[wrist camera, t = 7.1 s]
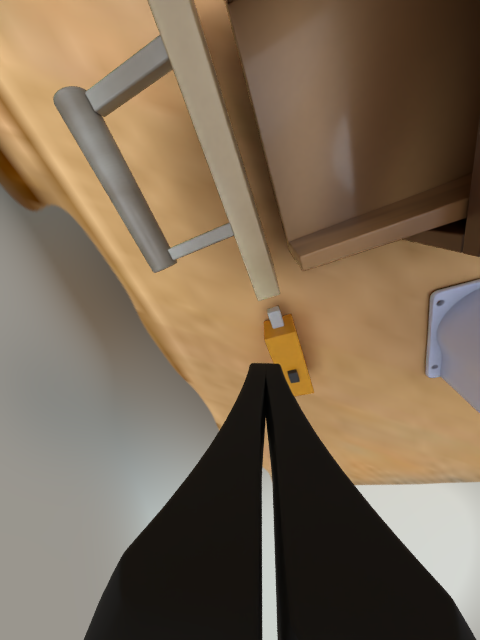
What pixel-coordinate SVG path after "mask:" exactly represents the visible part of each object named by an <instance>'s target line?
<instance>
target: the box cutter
mask: <svg viewBox="0 0 480 640" xmlns="http://www.w3.org/2000/svg"><path fill="white" fill-rule="evenodd" d="M267 313H268V317H269V319H270V320H268V321H264V340H265V343H266V345H267V348H268V350H269V353H270V355H271V358H272V361H273V363H274V364H280V365H281V368H282V371H283V374H284V376H285V379H286V381H287V383H288V385H289V387H290V389H291V391H292V393H293V395H294V396H299V395H305V394H311V393H314V390H313V386H312V383H311V379H310V376H309V373H308V369H307V366H306V362H305V359H304V355H303V352H302V349H301V345H300V342H299V339H298V335H297V332H296V328H295V325H294V322H293V318H292V315H291V314H289V315H285V316H282V315H281V312H280V309H279V306H276V307H273V308H269V309H267Z"/></svg>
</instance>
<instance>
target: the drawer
mask: <svg viewBox="0 0 480 640" xmlns="http://www.w3.org/2000/svg"><path fill="white" fill-rule="evenodd" d="M224 1H225V4H226V8H227V12H228V16H229V20H230V24H231V28H232V32H233V35H234V39H235V43H236V47H237V51H238V55H239V59H240V63H241V66H242V70H243V74H244V78H245V82H246V86H247V90H248V94H249V97H250V101H251V105H252V109H253V113H254V117H255V121H256V125H257V129H258V132H259V136H260V140H261V144H262V148H263V152H264V156H265V160H266V163H267V167H268V171H269V175H270V179H271V183H272V187H273V191H274V194H275V198H276V202H277V206H278V210H279V214H280V218H281V222H282V225H283V229H284V233H285V237H286V241H287V245H288V249H289V251H290V253H291V254H292V256H293V257H294V259H295V260H296V262H297V264H298V265H299V267H300V268H301V270H302V271H306V270H309V269H312V268H316V267H319V266H322V265H325V264H328V263H331V262H334V261H337V260H340V259H343V258H346V257H349V256H352V255H355V254H358V253H361V252H364V251H367V250H370V249H373V248H376V247H379V246H382V245H385V244H388V243H391V242H394V241H397V240H400V239H403V238H407V237H410V236H413V235H416V234H419V233H422V232H425V231H428V230H431V229H434V228H437V227H440V226H443V225H446V224H449V223H452V222H455V221H458V220H461V219H464V218H467V212H468V204H469V196H470V189H471V181H472V173H473V165H474V158H475V150H476V142H477V134H478V127H479V119H480V0H224ZM148 3H149V6H150V8H151V11H152V14H153V17H154V19H155V22H156V25H157V27H158V30H159V33H160V35H159V36H158V37H156V38H155V39H154V40H153V41H151V42H150V43H149V44H147V45H146V46H145V47H143V48H142V49H141V50H139V51H138V52H137V53H136V54H134V55H133V56H132V57H130V58H129V59H128V60H126V61H125V62H124V63H122V64H121V65H120V66H119V67H117V68H116V69H115V70H113V71H112V72H111V73H109V74H108V75H107V76H105V77H104V78H103V79H102V80H100V81H99V82H98V83H96V84H95V85H94V86H92V87H91V88H90V89H88V90H87V91H86V90H85V89H83V88H80V87H76V86H69V87H65V88H62V89H60V90H58V91H57V92H56V93H55V95H54V98H53V100H54V104H55V106H56V108H57V110H58V111H59V113H60V115H61V116H62V118H63V120H64V122H65V123H66V125H67V127H68V128H69V130H70V132H71V133H72V135H73V137H74V138H75V140H76V142H77V144H78V145H79V147H80V149H81V150H82V152H83V154H84V155H85V157H86V159H87V161H88V162H89V164H90V166H91V167H92V169H93V171H94V172H95V174H96V176H97V178H98V179H99V181H100V183H101V184H102V186H103V188H104V189H105V191H106V193H107V195H108V196H109V198H110V200H111V201H112V203H113V205H114V206H115V208H116V210H117V212H118V213H119V215H120V217H121V218H122V220H123V222H124V223H125V225H126V227H127V229H128V230H129V232H130V234H131V235H132V237H133V239H134V240H135V242H136V244H137V246H138V247H139V249H140V251H141V252H142V254H143V256H144V257H145V259H146V261H147V262H148V264H149V266H150V268H151V269H152V271H153V272H154V273H156V272H159V271H161V270H164V269H166V268H168V267H170V266H172V265H174V264H176V263H177V260H176V259H178V258H181V257H183V256H186V255H188V254H190V253H193V252H195V251H198V250H200V249H203V248H205V247H208V246H210V245H212V244H215V243H217V242H220V241H222V240H225V239H227V238H229V237H232V236H234V237H235V239H236V242H237V245H238V248H239V250H240V253H241V256H242V259H243V261H244V264H245V267H246V269H247V272H248V275H249V278H250V280H251V283H252V286H253V288H254V291H255V294H256V297H257V299H258V301H260V300H264V299H267V298H270V297H273V296H277V295H279V294H280V290H279V286H278V281H277V277H276V272H275V268H274V264H273V261H272V257H271V254H270V251H269V247H268V244H267V241H266V237H265V234H264V231H263V227H262V224H261V221H260V217H259V214H258V211H257V207H256V204H255V201H254V198H253V194H252V191H251V188H250V184H249V181H248V178H247V174H246V171H245V168H244V164H243V161H242V158H241V154H240V151H239V148H238V144H237V141H236V138H235V134H234V131H233V128H232V124H231V121H230V118H229V115H228V111H227V108H226V105H225V101H224V98H223V95H222V91H221V88H220V85H219V81H218V78H217V75H216V71H215V68H214V65H213V61H212V58H211V55H210V51H209V48H208V45H207V42H206V38H205V35H204V32H203V28H202V25H201V22H200V18H199V15H198V12H197V8H196V5H195V2H194V0H148ZM171 70H173V71H174V74H175V76H176V79H177V82H178V85H179V87H180V90H181V93H182V95H183V98H184V101H185V104H186V106H187V109H188V112H189V114H190V117H191V120H192V123H193V125H194V128H195V131H196V133H197V136H198V139H199V142H200V144H201V147H202V150H203V153H204V155H205V158H206V161H207V163H208V166H209V169H210V172H211V174H212V177H213V180H214V182H215V185H216V188H217V191H218V193H219V196H220V199H221V201H222V204H223V207H224V210H225V212H226V215H227V218H228V220H229V223H227V224H224V225H222V226H220V227H218V228H215V229H213V230H211V231H208V232H206V233H204V234H201V235H199V236H197V237H194V238H192V239H190V240H187V241H185V242H183V243H180V244H178V245H176V246H173V247H171V248H170V246H169V244H168V242H167V240H166V239H165V237H164V235H163V233H162V231H161V229H160V227H159V225H158V223H157V221H156V219H155V217H154V215H153V213H152V212H151V210H150V208H149V206H148V204H147V202H146V200H145V198H144V196H143V194H142V192H141V190H140V188H139V187H138V185H137V183H136V181H135V179H134V177H133V175H132V173H131V171H130V169H129V167H128V165H127V163H126V161H125V160H124V158H123V156H122V154H121V152H120V150H119V148H118V146H117V144H116V142H115V140H114V138H113V136H112V135H111V133H110V131H109V129H108V127H107V125H106V123H105V121H104V119H103V117H105V116H107V115H108V114H110V113H111V112H113V111H114V110H115V109H117V108H118V107H120V106H121V105H123V104H124V103H125V102H127V101H128V100H130V99H131V98H133V97H134V96H135V95H137V94H138V93H140V92H141V91H143V90H144V89H145V88H147V87H148V86H150V85H151V84H153V83H154V82H156V81H157V80H158V79H160V78H161V77H163V76H164V75H166V74H167V73H168V72H170V71H171ZM102 116H103V117H102Z"/></svg>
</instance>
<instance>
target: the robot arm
mask: <svg viewBox="0 0 480 640" xmlns="http://www.w3.org/2000/svg"><path fill="white" fill-rule="evenodd" d="M439 300H440V302H439V303H437V302H438V301H439ZM425 373H426V375H427V376H428V377H429V378H436V377H442V378H443V379H444V380H445V381H446V382H447V383H448V384H449V385H450V386H451V387H452V388H453V389H454V390H455V391H457V392H458V393H459V394H460V395H461V396H462V397H463V398H464V399H465V400H466V401H467V402H468V403H469V404H470V405H471V406H472V407H473V408H475V409H476V410H477V411H478V412H479V413H480V279H478V280H474V281H470V282H467V283H463V284H459V285H455V286H451V287H448V288H444V289H440V290H437V291H435V292H433V293H432V294H431V296H430V308H429V323H428V339H427V355H426V371H425ZM265 419H266V423H267V432H268V441H269V450H270V459H271V469H272V481H273V505H274V506H273V508H274V537H275V568H276V597H277V629H278V630H277V632H278V640H476V638H475V637H474V635H473V633H472V631H471V630H470V628H469V626H468V624H467V623H466V621H465V619H464V618H463V616H462V614H461V612H460V611H459V609H458V607H457V606H456V604H455V602H454V601H453V599H452V598H451V596H450V595H449V594H448V593H447V592H446V591H445V589H444V588H443V587H442V586H441V585H440V584H439V583H438V582H437V581H436V580H435V578H434V577H433V576H432V575H431V574H430V573H429V572H428V571H427V570H426V569H425V568H424V566H423V565H422V564H421V563H420V562H419V561H418V560H417V559H416V557H415V556H414V555H413V554H412V553H411V552H410V551H409V550H408V549H407V547H406V546H405V545H404V544H403V543H402V542H401V541H400V539H399V538H398V537H397V536H396V535H395V534H394V533H393V532H392V530H391V529H390V528H389V527H388V526H387V524H386V523H385V522H384V521H383V520H382V519H381V517H380V516H379V515H378V514H377V513H376V511H375V510H374V509H373V508H372V507H371V506H370V504H369V503H368V502H367V501H366V499H365V498H364V497H363V496H362V494H361V493H360V492H359V491H358V489H357V488H356V487H355V486H354V484H353V483H352V482H351V481H350V479H349V478H348V477H347V476H346V474H345V473H344V472H343V470H342V469H341V468H340V466H339V465H338V464H337V462H336V461H335V460H334V458H333V457H332V456H331V454H330V453H329V451H328V450H327V449H326V447H325V446H324V444H323V443H322V441H321V440H320V439H319V437H318V436H317V434H316V433H315V431H314V429H313V428H312V426H311V425H310V423H309V421H308V420H307V418H306V417H305V415H304V413H303V412H302V410H301V408H300V406H299V405H298V403H297V401H296V399H295V397H294V395H293V393H292V391H291V389H290V387H289V385H288V383H287V381H286V379H285V376H284V374H283V371H282V368H281V365H280V364H269V363H252V364H251V365H250V367H249V371H248V374H247V377H246V380H245V382H244V385H243V387H242V389H241V391H240V394H239V396H238V398H237V400H236V402H235V404H234V406H233V408H232V410H231V412H230V413H229V415H228V417H227V419H226V421H225V422H224V424H223V426H222V427H221V429H220V431H219V432H218V434H217V436H216V437H215V439H214V440H213V442H212V443H211V445H210V446H209V448H208V449H207V451H206V452H205V454H204V455H203V456H202V458H201V459H200V461H199V462H198V464H197V465H196V466H195V468H194V469H193V470H192V472H191V473H190V474H189V476H188V477H187V478H186V480H185V481H184V482H183V483H182V484H181V486H180V487H179V488H178V490H177V491H176V492H175V493H174V495H173V496H172V497H171V499H170V500H169V501H168V502H167V503H166V505H165V506H164V507H163V508H162V510H161V511H160V512H159V513H158V514H157V515H156V516H155V518H154V519H153V520H152V521H151V522H150V523H149V524H148V526H147V527H146V528H145V529H144V530H143V531H142V532H141V534H140V535H139V536H138V537H137V538H136V539H135V540H134V542H133V543H132V544H131V545H130V546H129V548H127V550H126V551H125V552H124V554H123V555H122V557H121V559H120V561H119V563H118V564H117V567H116V568H115V570H114V572H113V574H112V576H111V578H110V580H109V583H108V585H107V587H106V589H105V591H104V592H103V595H102V597H101V599H100V601H99V604H98V606H97V608H96V611H95V613H94V616H93V618H92V621H91V624H90V626H89V628H88V631H87V633H86V635H85V638H84V640H262V462H263V448H264V434H265Z"/></svg>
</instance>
